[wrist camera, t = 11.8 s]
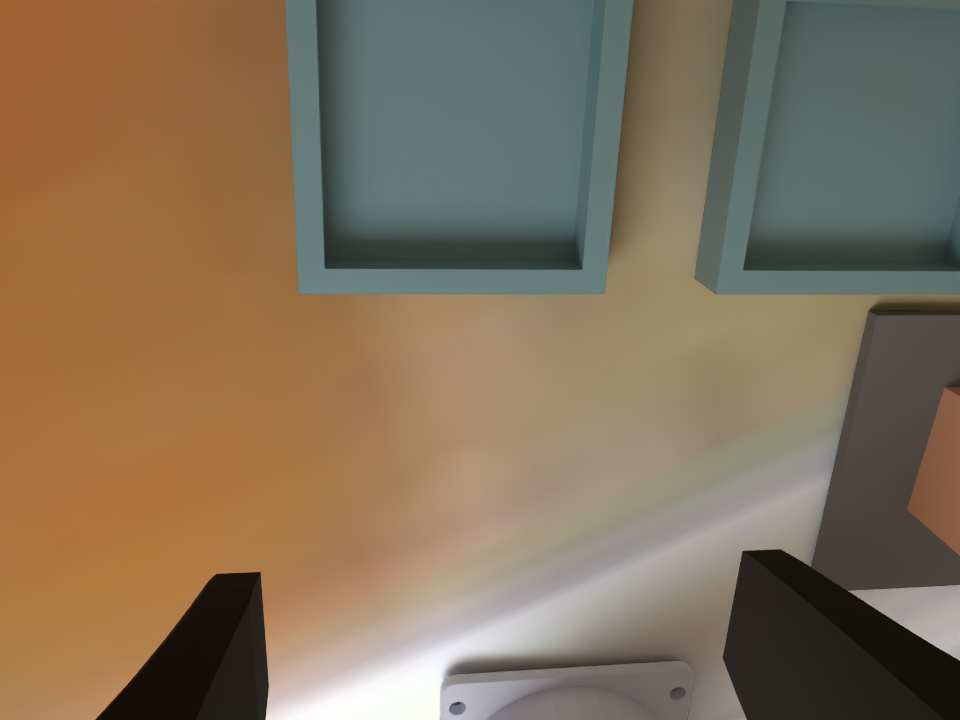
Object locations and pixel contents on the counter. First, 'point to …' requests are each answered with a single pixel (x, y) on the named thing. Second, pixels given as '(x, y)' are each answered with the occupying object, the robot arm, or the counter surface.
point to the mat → (889, 456)
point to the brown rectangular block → (941, 474)
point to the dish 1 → (455, 143)
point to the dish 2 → (836, 150)
